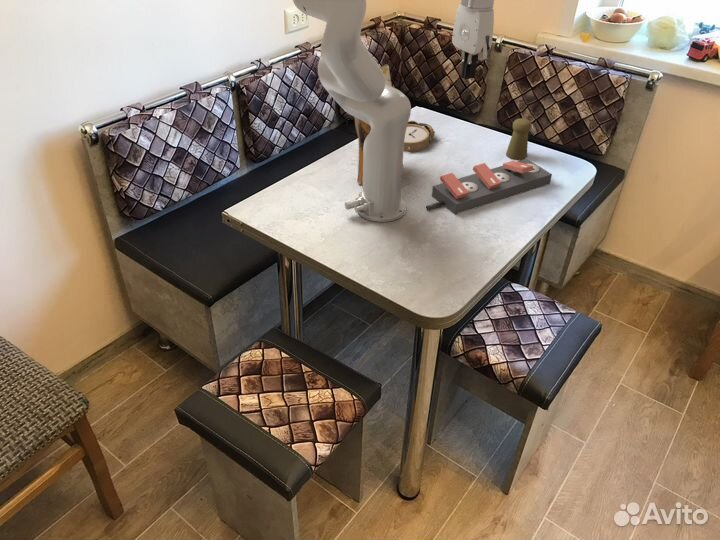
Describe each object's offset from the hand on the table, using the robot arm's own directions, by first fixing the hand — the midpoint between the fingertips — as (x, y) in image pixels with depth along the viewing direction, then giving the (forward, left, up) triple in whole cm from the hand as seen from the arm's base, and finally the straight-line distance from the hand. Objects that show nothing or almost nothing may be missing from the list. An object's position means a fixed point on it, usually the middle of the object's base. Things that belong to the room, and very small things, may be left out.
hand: (467, 77), depth 155 cm
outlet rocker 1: (-10, -12, -24) cm, 28 cm away
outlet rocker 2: (0, -12, -24) cm, 26 cm away
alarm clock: (0, +22, -28) cm, 35 cm away
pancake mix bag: (-20, +11, -27) cm, 36 cm away
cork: (+22, 0, -27) cm, 35 cm away
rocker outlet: (+11, -12, -24) cm, 29 cm away
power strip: (+1, -12, -27) cm, 30 cm away
